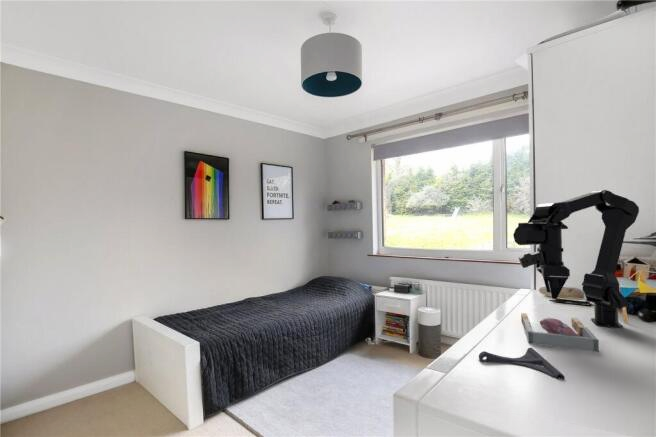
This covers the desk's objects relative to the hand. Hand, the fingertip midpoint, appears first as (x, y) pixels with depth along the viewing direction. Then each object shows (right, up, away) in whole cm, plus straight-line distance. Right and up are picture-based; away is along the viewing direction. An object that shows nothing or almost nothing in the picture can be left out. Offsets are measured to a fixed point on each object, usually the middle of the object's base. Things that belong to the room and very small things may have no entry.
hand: (551, 295), depth 99 cm
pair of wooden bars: (0, -10, 0) cm, 10 cm away
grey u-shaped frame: (-5, -10, -10) cm, 15 cm away
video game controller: (-4, -10, -9) cm, 15 cm away
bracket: (-25, -11, -23) cm, 35 cm away
